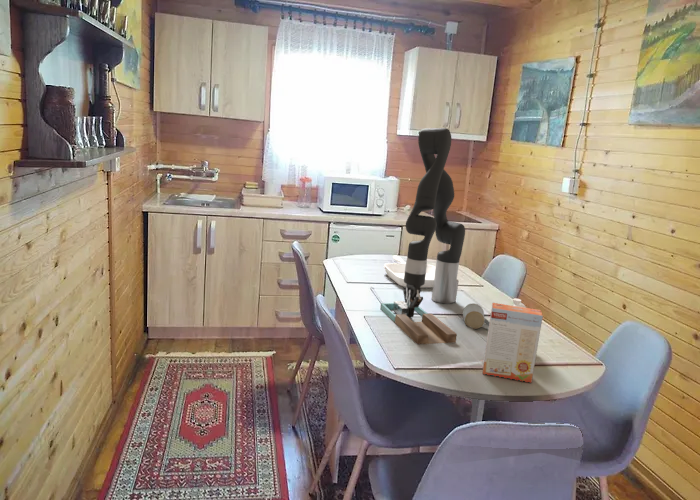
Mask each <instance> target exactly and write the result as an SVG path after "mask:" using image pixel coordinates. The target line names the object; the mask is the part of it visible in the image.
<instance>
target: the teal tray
mask: <svg viewBox="0 0 700 500" xmlns="http://www.w3.org/2000/svg"><path fill="white" fill-rule="evenodd" d="M393 306H394V302H386V303H385V302H382V303H380V307H379V308H380V311H382V312H383V313H384V314H385V315H386V316H387V317H388V318H390V319H391V320H392V322H394V323H395V317H396V314H395V313H394V312H393ZM391 310H392V311H391ZM414 312H416V313H418V314H419V315H420V316H421V317H422V315H423V314H429V313H428V312H427V311H426V310H424V309H423V308H422V307H420V305H419V306H418V307H415V309H414Z"/></svg>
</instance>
